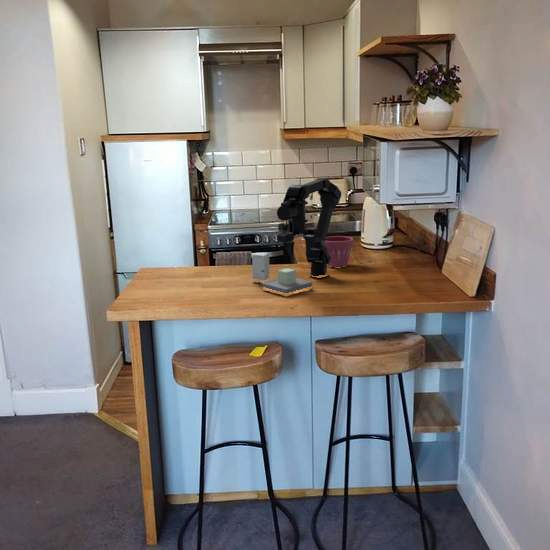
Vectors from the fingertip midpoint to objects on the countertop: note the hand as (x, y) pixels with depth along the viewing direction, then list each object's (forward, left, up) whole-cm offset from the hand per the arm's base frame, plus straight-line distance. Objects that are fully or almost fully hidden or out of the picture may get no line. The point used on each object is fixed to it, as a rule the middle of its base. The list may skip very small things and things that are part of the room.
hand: (299, 255), depth 232 cm
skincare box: (+8, -15, -12) cm, 21 cm away
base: (+9, +2, -12) cm, 15 cm away
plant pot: (-33, -10, -12) cm, 37 cm away
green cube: (+9, +2, -9) cm, 13 cm away
